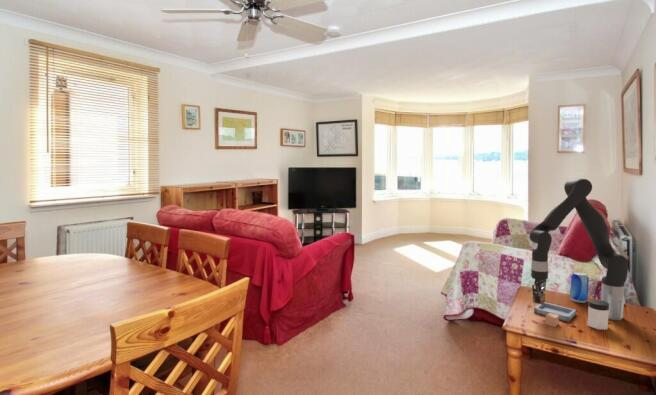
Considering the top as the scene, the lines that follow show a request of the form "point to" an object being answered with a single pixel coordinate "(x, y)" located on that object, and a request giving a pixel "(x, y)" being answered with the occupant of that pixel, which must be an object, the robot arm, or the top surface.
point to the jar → (598, 314)
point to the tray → (555, 311)
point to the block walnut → (542, 298)
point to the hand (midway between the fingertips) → (538, 301)
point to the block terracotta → (552, 319)
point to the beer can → (579, 287)
